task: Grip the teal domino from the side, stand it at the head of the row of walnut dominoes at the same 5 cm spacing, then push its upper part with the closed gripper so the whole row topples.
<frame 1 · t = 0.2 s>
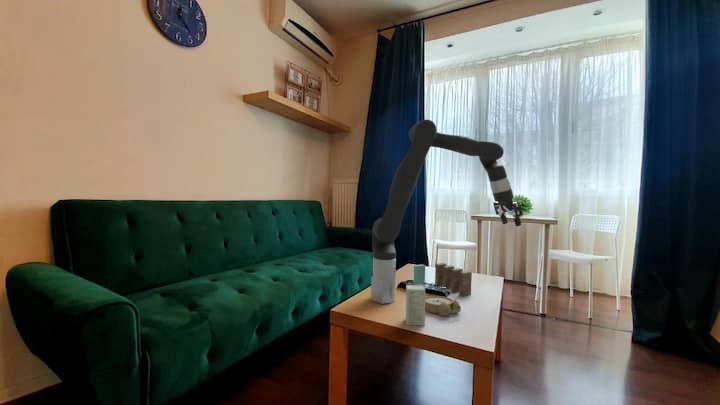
hand: (511, 224, 123), 31 cm above the table, tool tilted 20°, fingers open, 8 cm apart
domino 5: (465, 294, 124), on the table
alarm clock: (441, 311, 106), on the table
domino 3: (448, 287, 132), on the table
domino 2: (440, 284, 137), on the table
skincare box: (414, 323, 96), on the table
teal domino: (419, 286, 133), on the table
domino 4: (456, 290, 128), on the table
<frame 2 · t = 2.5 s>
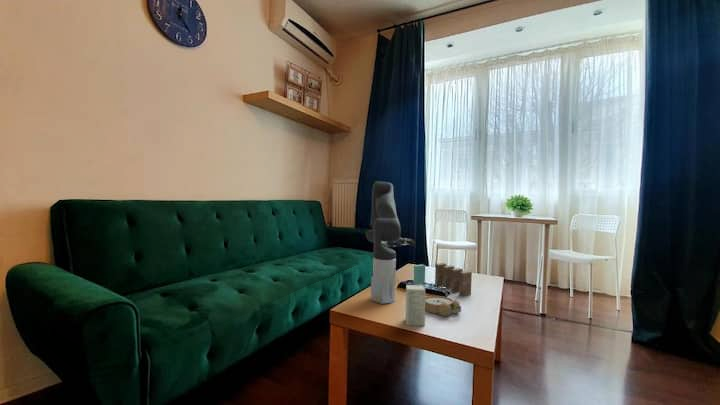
hand: (407, 244, 141), 18 cm above the table, tool horizontal, fingers open, 8 cm apart
nothing on the table moved.
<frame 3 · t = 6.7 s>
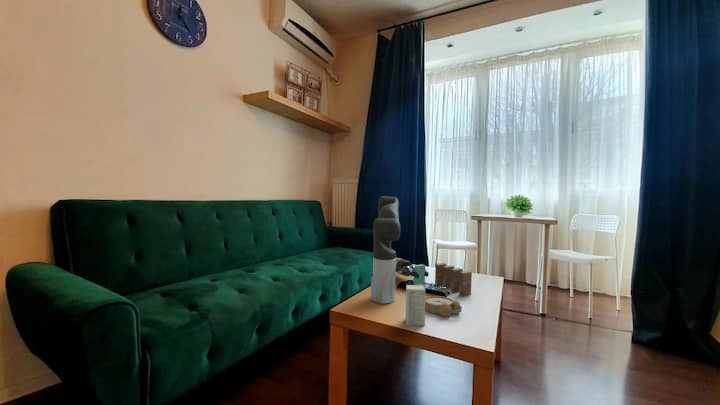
hand: (423, 275, 131), 6 cm above the table, tool horizontal, fingers closed on teal domino, 5 cm apart
teal domino: (419, 286, 133), on the table, touching gripper
everything else where it was.
when the fingers open (7 cm above the table, at t = 12.9 s): teal domino stays where it is, on the table.
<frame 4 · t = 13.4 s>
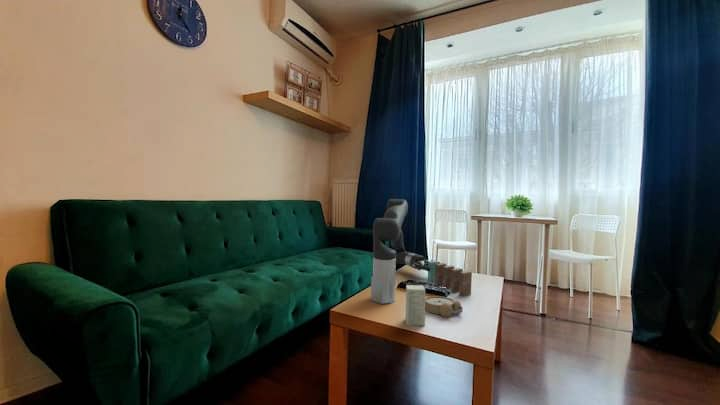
hand: (436, 268, 139), 7 cm above the table, tool horizontal, fingers open, 8 cm apart
teal domino: (432, 281, 141), on the table
everything else where it was.
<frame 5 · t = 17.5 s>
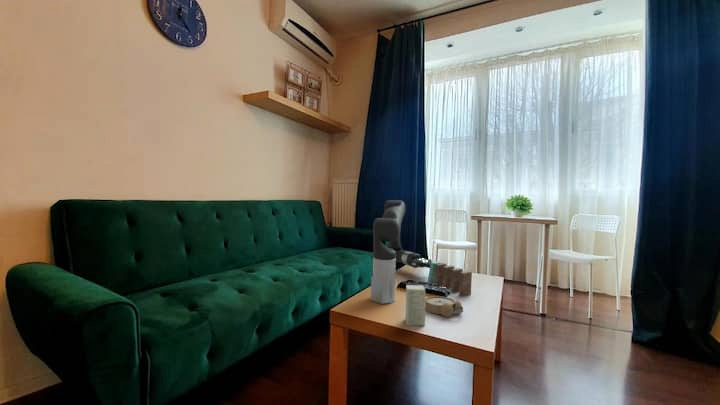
hand: (433, 266, 141), 7 cm above the table, tool horizontal, fingers closed
teal domino: (432, 281, 141), on the table, tilted 10°
everything else where it was.
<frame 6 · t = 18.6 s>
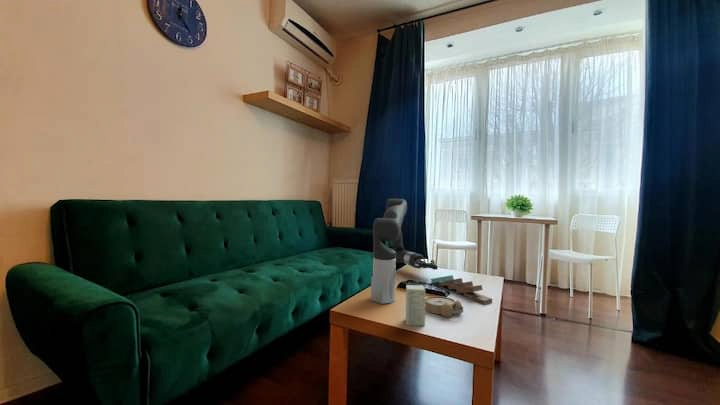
hand: (436, 267, 139), 8 cm above the table, tool horizontal, fingers closed
domino 5: (467, 294, 123), on the table, tilted 90°, touching domino 4
domino 3: (451, 286, 130), point 1 cm above the table, tilted 67°, touching domino 2, domino 4
domino 2: (442, 283, 135), point 1 cm above the table, tilted 67°, touching domino 3, teal domino
teal domino: (435, 280, 140), point 1 cm above the table, tilted 68°, touching domino 2
domino 4: (460, 290, 126), point 1 cm above the table, tilted 68°, touching domino 3, domino 5
everything else where it was.
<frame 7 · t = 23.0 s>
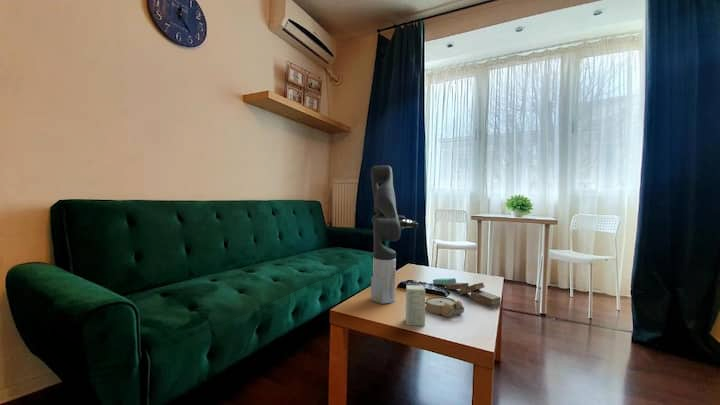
hand: (417, 225, 138), 28 cm above the table, tool horizontal, fingers closed
domino 5: (474, 297, 119), point 1 cm above the table, tilted 90°, touching domino 4
domino 3: (462, 291, 124), point 1 cm above the table, tilted 58°, touching domino 2, domino 4
domino 2: (447, 285, 132), point 1 cm above the table, tilted 74°, touching domino 3, teal domino
teal domino: (437, 281, 139), point 1 cm above the table, tilted 74°, touching domino 2
domino 4: (474, 292, 119), point 3 cm above the table, tilted 90°, touching domino 3, domino 5
at the end: domino 5 tilted 90°; teal domino tilted 74°; teal domino inside the target area (2.5 cm from its centre), point 1.0 cm above the table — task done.
